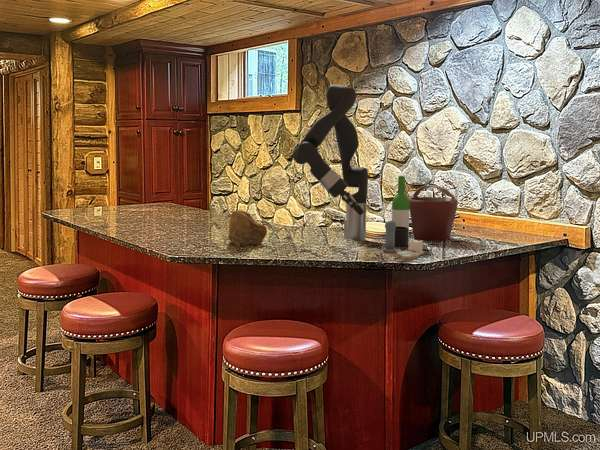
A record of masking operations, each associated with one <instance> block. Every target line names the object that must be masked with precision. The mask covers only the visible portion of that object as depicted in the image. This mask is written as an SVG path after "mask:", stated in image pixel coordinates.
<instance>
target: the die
mask: <svg viewBox="0 0 600 450" xmlns="http://www.w3.org/2000/svg"><path fill="white" fill-rule="evenodd" d="M423 245H424V244H423V240H416V239H409V241H408V246H407V249H408V251H411V252H412V253H418V254H419V256H421V255H422V254H423Z"/></svg>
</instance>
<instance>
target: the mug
mask: <svg viewBox="0 0 600 450" xmlns="http://www.w3.org/2000/svg"><path fill="white" fill-rule="evenodd" d="M408 245H409V241H408V228H407V227H399V226H396V228H395V246H394V248H406V247H407V248H408Z"/></svg>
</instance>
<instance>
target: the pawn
mask: <svg viewBox="0 0 600 450" xmlns="http://www.w3.org/2000/svg"><path fill="white" fill-rule="evenodd" d="M384 228H385V240H384V243H385V245H384V247H383V248H382V249H383V251H382V252H384V253H396V251H397V247H394V246H395V228H396V223H395V222H394V221H392V219H390V220H387V221H386V222H385V223H384ZM396 254H397V253H396Z"/></svg>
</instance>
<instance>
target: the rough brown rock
mask: <svg viewBox="0 0 600 450" xmlns="http://www.w3.org/2000/svg"><path fill="white" fill-rule="evenodd" d="M228 226H229V227H228V237H227V238H228V240H229V241H230V242H232V243H233V244H234V245H235V246H236V247H239V246H241V245H242V246H246V245H247V246H248V245H251V244H253V245H255V246H260V245H261V244H262V243H263V241H264V239H265V238H266V236H267V234H268V231H267V227H266V226H265V225H264V224H262V223H257V222H256V221H255V219H254V218H253V217H252V215H251V214H250V213H249V212H247V211H245V210H240V209H238V210H233V211H232V212H231V214H230V219H229V225H228Z"/></svg>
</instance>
